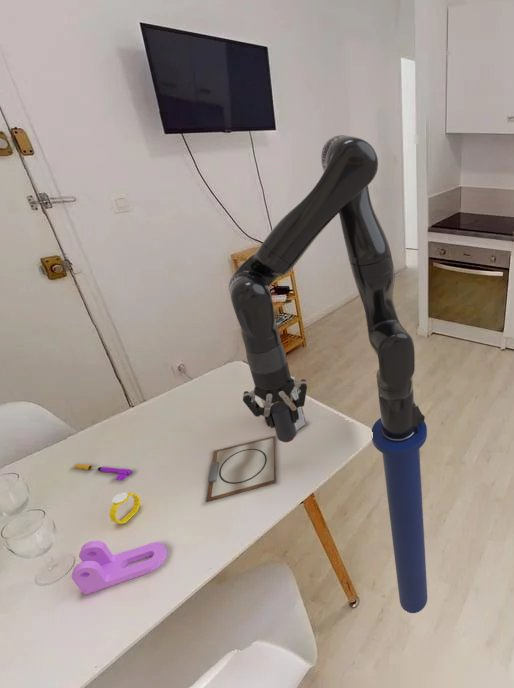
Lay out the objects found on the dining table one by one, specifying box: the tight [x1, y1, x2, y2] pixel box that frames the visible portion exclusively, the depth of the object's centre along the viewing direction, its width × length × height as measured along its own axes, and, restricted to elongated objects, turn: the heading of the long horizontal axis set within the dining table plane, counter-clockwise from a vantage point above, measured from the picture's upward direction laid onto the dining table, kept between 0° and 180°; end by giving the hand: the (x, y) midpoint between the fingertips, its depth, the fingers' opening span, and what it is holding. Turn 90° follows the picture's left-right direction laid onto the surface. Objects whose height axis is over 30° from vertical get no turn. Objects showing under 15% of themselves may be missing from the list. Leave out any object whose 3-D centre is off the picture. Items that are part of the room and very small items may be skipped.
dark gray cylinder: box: [270, 401, 297, 443], centre depth 95 cm, size 4×4×10 cm
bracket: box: [70, 540, 168, 596], centre depth 78 cm, size 13×6×7 cm, turn 112°
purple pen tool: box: [73, 464, 133, 481], centre depth 100 cm, size 3×1×16 cm
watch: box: [109, 492, 141, 525], centre depth 88 cm, size 6×3×6 cm, turn 169°
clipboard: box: [205, 435, 277, 503], centre depth 100 cm, size 15×16×1 cm
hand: (284, 422), depth 95 cm, fingers closed on dark gray cylinder, 4 cm apart
